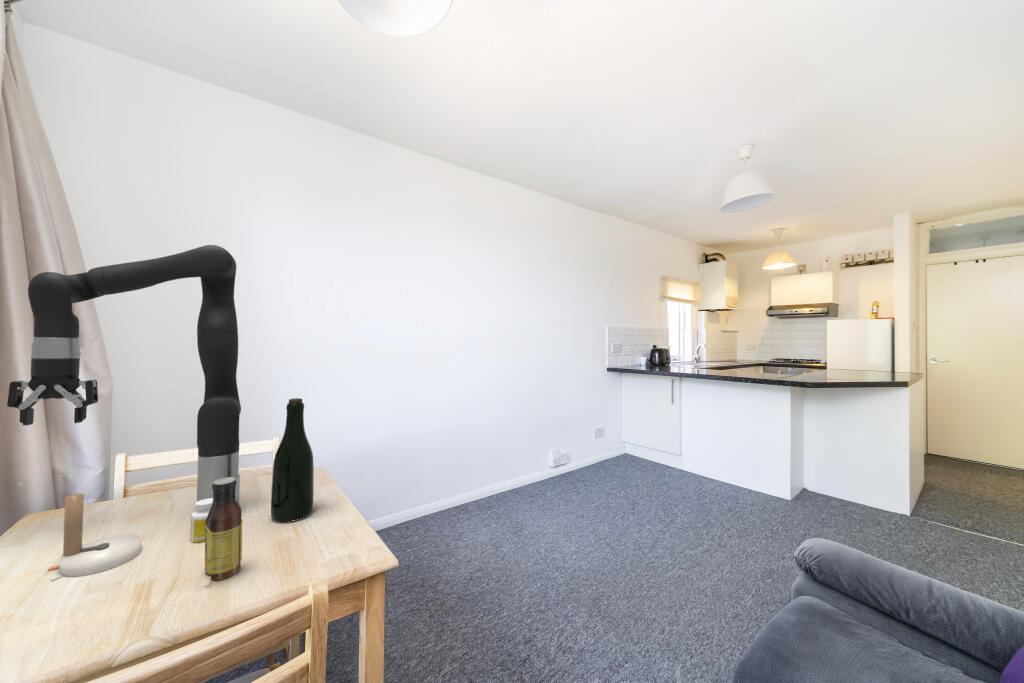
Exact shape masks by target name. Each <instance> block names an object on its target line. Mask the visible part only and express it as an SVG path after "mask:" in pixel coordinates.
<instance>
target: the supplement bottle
mask: <svg viewBox="0 0 1024 683" xmlns="http://www.w3.org/2000/svg"><path fill="white" fill-rule="evenodd" d="M212 504H213V498H209V499H204V500H200V501H198V502H197V501H196V502H195V504H194V509H195V511H194V512H192V514H191V516H190V533H189V542H190V543H191V544H201V543H205V521H206V518H207V516H208V513H209V511H210V508H211V506H212Z"/></svg>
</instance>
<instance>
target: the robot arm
mask: <svg viewBox="0 0 1024 683" xmlns="http://www.w3.org/2000/svg"><path fill="white" fill-rule="evenodd" d="M236 274H237V263H236V259H235V258H234V257H233V255H232V254H231V253H230V252H229V251H228V250H227V249H225V247H222V246H219V245H216V244H206V245H203V246H199V247H196V248H192V249H189V250H185V251H183V252H182V251H181V252H179V253H175V254H171V255H166V256H162V257H157V258H149V259H145V260H144V259H142V260H137V261H129V262H123V263H117V264H115V263H114V264H111V265H104V266H96V267H93V268H90V269H89V270H88V271H86V272H82V273H81V272H79V273H75V274H74V273H73V274H62V273H59V272H53V271H43V272H41V273H40V272H39V273H38V274H36V275H34V276H33V277H32V278H31V279H30V280H29V283H28V288H27V296H28V300H29V304H30V308H31V311H32V315H33V317H34V323H33V339H32V343H31V351H30V352H31V353H30V355H31V356H30V380H29V381H25V380H14V381H11V382H10V383H9V387H8V395H7V403H6V406H7V407H8V408H14V409H18V410H19V422H20V424H22V426H31V425H33V424H34V421H35V420H34V416H35V414H34V413H35V408H34V406H35V405H36V404H38V403H39V402H40V401H41V400H48V399H49V400H50V399H57V400H59V399H60V400H62V399H66V400H67V401H69V402H71V403H72V404H73V405H74V406H75V407H74V413H73V414H74V415H73V418H74V419H73V421H74V422H73V423H74V424H80V423H82V422H84V420H86V419H87V410H88V409H87V408H88V406H90V405H94V404H96V403H99V394H98V392H99V390H98V389H99V388H98V381H97V379H89V380H81V379H80V362H81V361H80V360H81V354H82V353H81V344H80V320H79V317H78V316H76V315H75V314H74V312H73V304H76V303H77V304H78V303H81V302H85V301H89V300H93V299H97V298H101V297H104V296H108V295H109V296H110V295H116V294H121V293H123V294H124V293H128V292H133V291H138V290H142V289H146V288H150V287H151V288H152V287H153V286H156V285H159V284H162V283H166V282H169V281H170V282H172V281H174V280H181V279H189V278H200V282H201V284H200V285H201V291H202V293H201V294H202V298H201V305H200V309H199V314H198V318H197V325H196V326H197V327H196V336H197V337H196V340H197V351H198V356H199V357H198V358H199V360H200V364H201V368H202V371H203V374H204V396H203V398H204V399H203V403H202V405H201V406H200V407H199V409H198V412H197V417H196V418H197V419H196V445H197V446H196V447H197V476H196V477H197V479H196V480H197V481H196V502H198V501H200V500H204V499H209V498H213V489H212V484H213V482H214V481H215V480H218V479H221V478H227V477H234V478H236V486H235V496H236V497H235V500H236V501H237V502H238V503H239V504H240V493H241V491H240V490H241V486H240V485H241V483H240V482H241V474H239V465H240V415H241V413H242V405H241V401H240V397H239V396H240V395H239V389H238V384H237V382H238V380H237V372H238V371H237V369H238V362H239V329H238V317H237V311H236V304H235V283H236ZM80 387H82V389H83V390H85V398H84V397H83V394H81V393H80V392H79V391H78V390H77V389H79V388H80ZM28 388H29V389H30V390H31V391H32V393H30V394H29V395H28V396H27V397H25V400H23V399H24V393H25V392H24V391H26V390H27V389H28Z"/></svg>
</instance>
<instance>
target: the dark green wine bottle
mask: <svg viewBox="0 0 1024 683" xmlns="http://www.w3.org/2000/svg"><path fill="white" fill-rule="evenodd" d="M285 407H286V408H285V409H286V420H285V426H284V433H283V435H282V437H281V440H280V442H279V445H278V448H277V449H276V452H275V454H274V458H273V462H272V464H273V465H272V475H271V476H272V477H271V478H272V479H271V494H270V495H271V496H270V519H271V520H273V521H274V522H278V523H289V522H288V521H291V522H293V521H292V520H296V521H298V520H297V519H299V520H301V519H300V518H302V519H304V518H306V517H308V516H310V515H311V514H312V512H313V511H314V485H315V484H314V483H315V482H314V480H315V479H314V478H315V476H314V472H315V471H314V468H315V466H314V454H313V449H312V447H311V445H310V442H309V439H308V437H307V434H306V430H305V429H306V428H305V421H304V419H305V418H304V415H305V413H304V410H305V405H304V402H303V398H299V397H298V398H297V397H296V398H295V397H294V398H289V399H288V403H287V404H286V406H285ZM307 515H308V516H307ZM305 516H306V517H305ZM303 517H304V518H303Z"/></svg>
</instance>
